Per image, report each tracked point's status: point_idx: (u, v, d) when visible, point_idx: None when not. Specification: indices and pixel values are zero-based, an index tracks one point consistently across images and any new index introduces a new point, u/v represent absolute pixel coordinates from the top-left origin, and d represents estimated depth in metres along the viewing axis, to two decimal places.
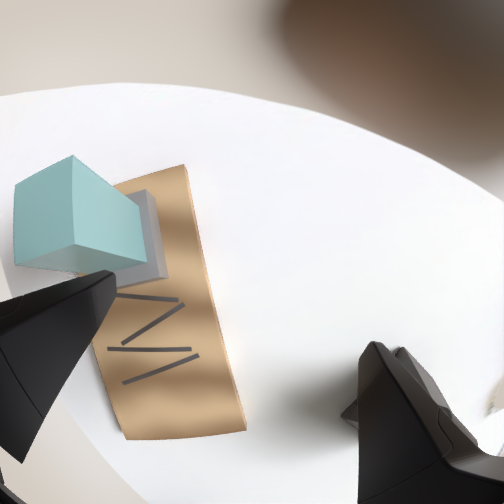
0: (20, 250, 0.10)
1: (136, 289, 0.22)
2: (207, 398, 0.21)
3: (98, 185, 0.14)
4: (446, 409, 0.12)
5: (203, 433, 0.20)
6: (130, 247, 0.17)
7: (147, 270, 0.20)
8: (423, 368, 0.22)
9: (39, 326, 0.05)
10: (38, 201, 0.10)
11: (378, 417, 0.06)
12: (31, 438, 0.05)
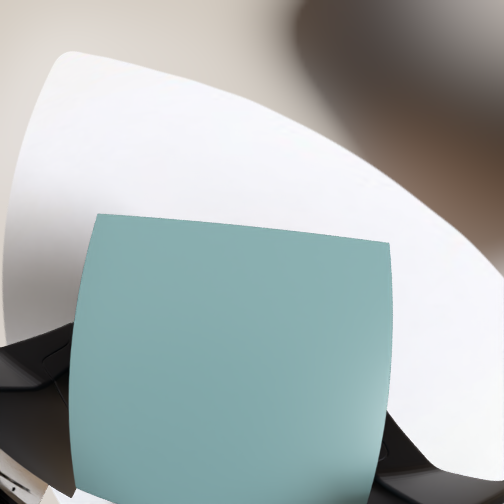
0: (108, 471, 0.03)
1: None
2: None
3: None
4: None
5: None
6: None
7: None
8: None
9: None
10: (222, 353, 0.03)
11: None
12: None
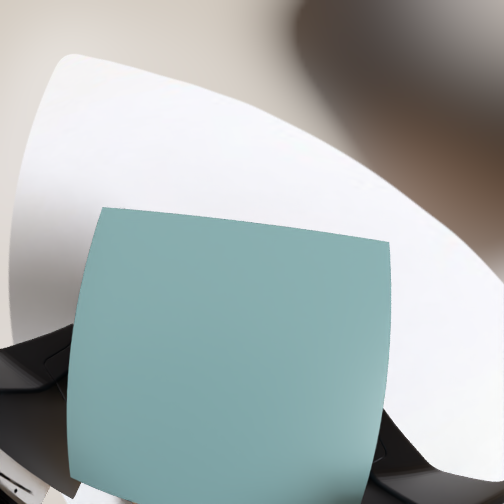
0: (102, 460, 0.03)
1: None
2: None
3: None
4: None
5: None
6: None
7: None
8: None
9: None
10: (220, 346, 0.03)
11: None
12: None
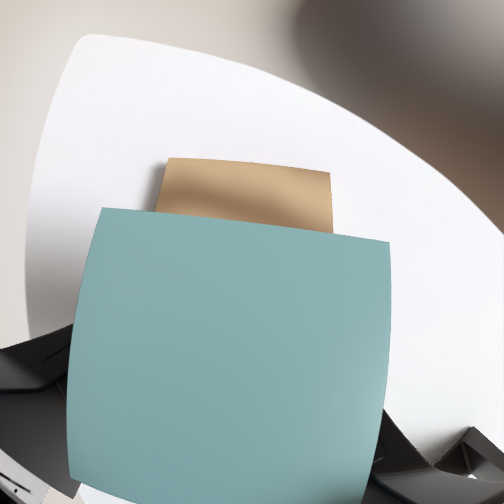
0: (102, 460, 0.03)
1: None
2: None
3: None
4: None
5: None
6: None
7: None
8: None
9: None
10: (220, 347, 0.03)
11: None
12: None
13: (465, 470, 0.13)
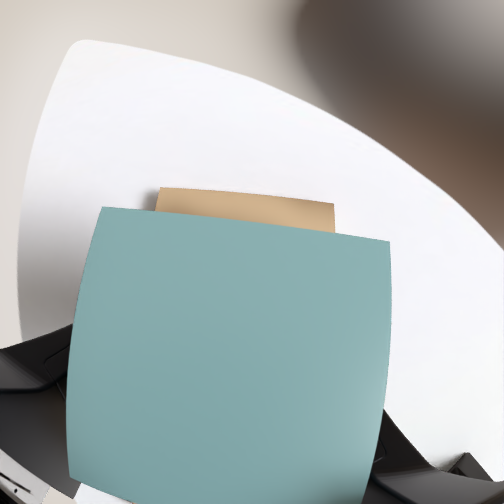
0: (102, 460, 0.03)
1: None
2: None
3: None
4: None
5: None
6: None
7: None
8: None
9: None
10: (219, 345, 0.03)
11: None
12: None
13: None
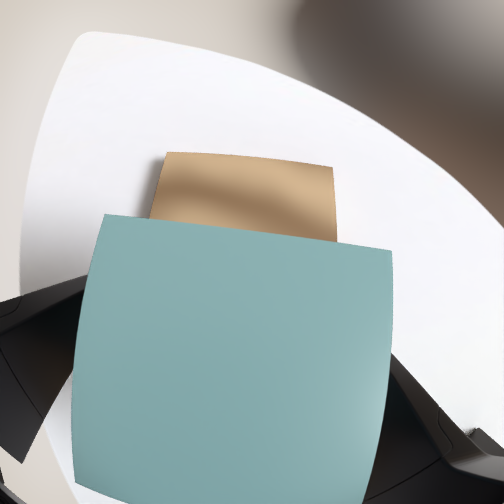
0: (107, 467, 0.03)
1: None
2: None
3: None
4: None
5: None
6: None
7: None
8: None
9: (39, 326, 0.05)
10: (224, 355, 0.03)
11: None
12: (31, 438, 0.05)
13: None
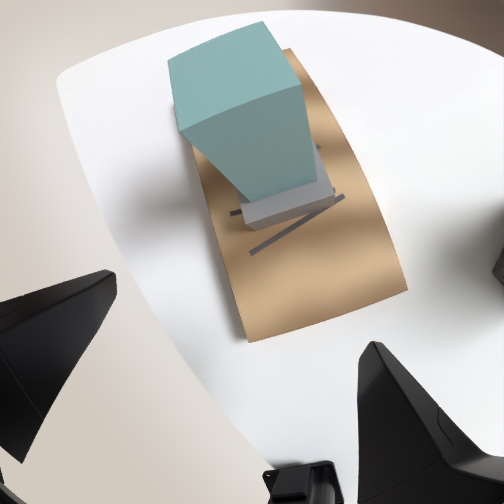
0: (191, 111, 0.09)
1: None
2: (360, 249, 0.18)
3: None
4: None
5: (357, 304, 0.18)
6: None
7: (318, 188, 0.17)
8: None
9: (39, 326, 0.05)
10: (219, 60, 0.09)
11: (378, 417, 0.06)
12: (31, 438, 0.05)
13: None
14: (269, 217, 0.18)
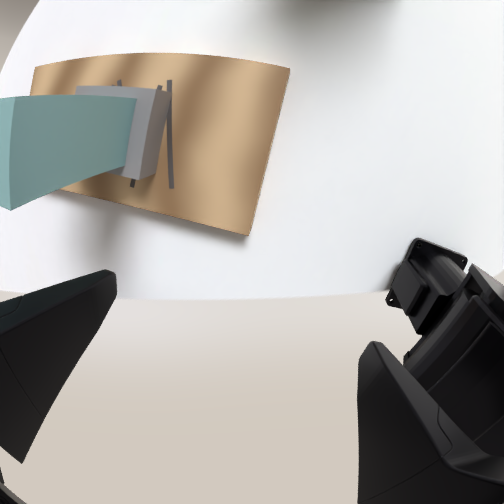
0: (2, 193, 0.07)
1: None
2: (223, 90, 0.16)
3: None
4: None
5: (271, 120, 0.16)
6: None
7: (143, 101, 0.14)
8: None
9: (39, 326, 0.05)
10: None
11: (378, 417, 0.06)
12: (31, 438, 0.05)
13: None
14: (144, 156, 0.16)
